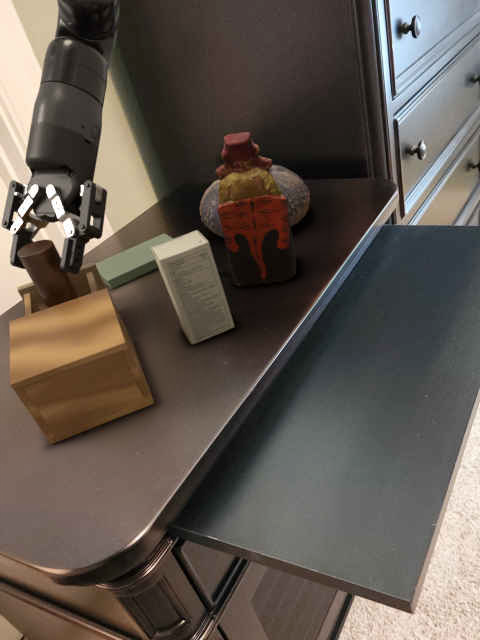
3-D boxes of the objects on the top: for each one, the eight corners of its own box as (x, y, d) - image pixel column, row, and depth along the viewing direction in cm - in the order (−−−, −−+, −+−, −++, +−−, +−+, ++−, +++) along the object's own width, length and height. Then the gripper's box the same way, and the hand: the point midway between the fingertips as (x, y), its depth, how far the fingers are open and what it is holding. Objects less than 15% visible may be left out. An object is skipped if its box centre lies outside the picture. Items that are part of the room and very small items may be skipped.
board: (111, 289, 82) (107, 280, 81) (93, 274, 87) (89, 265, 86) (188, 253, 87) (185, 245, 86) (167, 241, 92) (164, 233, 91)
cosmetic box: (224, 313, 71) (199, 228, 63) (236, 328, 68) (210, 240, 60) (181, 330, 69) (149, 245, 61) (190, 346, 66) (158, 259, 58)
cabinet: (44, 377, 66) (9, 321, 61) (133, 344, 69) (107, 287, 63) (51, 444, 56) (9, 384, 51) (154, 403, 59) (125, 342, 53)
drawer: (40, 315, 77) (16, 274, 72) (109, 291, 79) (90, 250, 75) (46, 375, 65) (18, 330, 60) (128, 345, 67) (106, 300, 62)
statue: (302, 256, 80) (277, 112, 66) (298, 283, 74) (270, 131, 60) (225, 265, 81) (187, 126, 68) (216, 291, 76) (171, 146, 62)
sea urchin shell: (237, 196, 101) (233, 141, 94) (326, 217, 95) (329, 160, 88) (182, 239, 89) (172, 180, 82) (280, 266, 84) (279, 205, 76)
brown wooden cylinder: (58, 341, 68) (10, 257, 60) (73, 322, 71) (29, 240, 64) (86, 340, 67) (41, 255, 60) (100, 321, 70) (59, 238, 63)
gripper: (-3, 122, 62) (-25, 257, 62) (85, 116, 56) (60, 264, 57) (49, 153, 69) (29, 274, 69) (133, 150, 63) (111, 282, 64)
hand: (43, 269), depth 63 cm, fingers open, 8 cm apart
